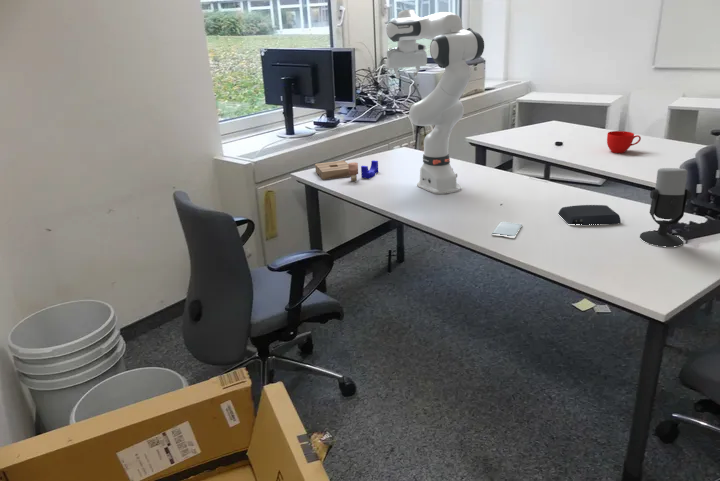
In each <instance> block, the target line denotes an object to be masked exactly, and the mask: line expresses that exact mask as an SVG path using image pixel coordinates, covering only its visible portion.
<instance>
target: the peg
mask: <svg viewBox="0 0 720 481" xmlns="http://www.w3.org/2000/svg"><path fill="white" fill-rule="evenodd" d="M358 164H359V163H358V162H356V161H355V162H354V161H353V162H349V163H348V167H349V174H350V175H351V176H350V180H351V182H356V181H357V179H358V178H357V175H359V165H358Z"/></svg>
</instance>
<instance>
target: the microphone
mask: <svg viewBox="0 0 720 481" xmlns="http://www.w3.org/2000/svg"><path fill="white" fill-rule="evenodd" d="M687 179H688V170H687V169H686V168H675V167H664V168H663V167H662V168H659V169H657V173H656V183H655V189H653V190H650V193H649V197H650V199H651V204H650V207H649V214H650V216H651V218H652V220H653V221H654V222H655V223H656V224H657V225H659V226H658V230H657V231H658V232H654V231H655V230H649V231H643V232H641V233H640V234H639V239H640V238H641V239H642V240H643V241H645V242H647V243H649V244H648V245H650V244H653V245H658V246H666V247H674V246H679V245H681V244H682V243H683V244H684V241H682V240H683V239H682V238H681V237H680V236H678V235H676V234H674V235H672V234H673V233H671V234H669V233H670V232H668V231H669V230H668V229H669V227H670V226H675V225H677V224H678V223H679V222H680V220H681V219H682V218H684V214H685V210H686V206H687V202H688V200H691V199H692V197H693V194H692V191H691V190H688V189H686V185H687ZM655 217H656V218H658V219H659V220H657V219H656V218H655ZM660 219H662V220H660ZM675 235H676V236H675ZM677 236H678V237H677ZM679 237H680V238H681V239H682V240H681V239H680V238H679ZM641 239H640V240H641ZM642 240H641V241H642ZM643 241H642V242H643ZM645 242H644V243H645ZM647 243H646V244H647ZM683 244H682V245H683ZM653 245H652V246H653ZM682 245H681V246H682ZM679 247H680V246H679Z"/></svg>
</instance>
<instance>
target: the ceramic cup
mask: <svg viewBox="0 0 720 481" xmlns="http://www.w3.org/2000/svg"><path fill="white" fill-rule="evenodd" d="M606 135H607V136H606V144H607V148H608V149H609V150H610V152H611V153H615V154H624V153H625V152H627V150H629V149H630V147H632V146H634V145H637V144H638V143H640V142H641V139H642V138H641V136H640V135H639V134H638V135H635V133H634V132H630V131H623V130H614V131H608V132H607V133H606ZM635 138H638V140H637V141H636V142H633V141H634V139H635Z"/></svg>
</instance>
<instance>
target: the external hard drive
mask: <svg viewBox="0 0 720 481" xmlns="http://www.w3.org/2000/svg"><path fill="white" fill-rule="evenodd" d="M558 214H559V215H560V216H561V217H562V218H563V219H564V220H565V221H566V222H567V223H568V224H575V225H576V224H580V225H581V224H582V225H589V224H590V225H591V224H592V225H591V226H601V225H600V224H609V225H620V224H622V222H621V217H620V214H619V213H617V212H616V211H615V210H613V209H612V208H610V207H609V206H608V205H605V204H604V205H603V204H579V205H578V204H577V205H570V206H563V207H561V208H560V210H559V211H558V213H557V215H558ZM559 215H558V216H559ZM560 216H559V217H560ZM561 217H560V218H561ZM562 218H561V219H562ZM563 219H562V220H563ZM564 220H563V221H564ZM565 221H564V222H565ZM566 222H565V223H566ZM567 223H566V224H567ZM618 223H619V224H618ZM568 224H567V225H568ZM593 224H594V225H593ZM595 224H596V225H595ZM597 224H599V225H597Z"/></svg>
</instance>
